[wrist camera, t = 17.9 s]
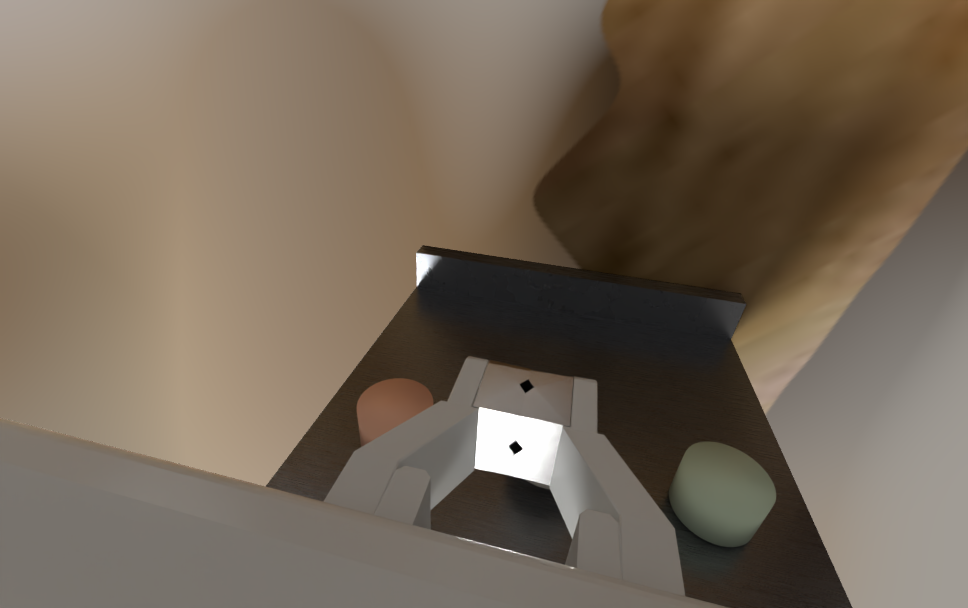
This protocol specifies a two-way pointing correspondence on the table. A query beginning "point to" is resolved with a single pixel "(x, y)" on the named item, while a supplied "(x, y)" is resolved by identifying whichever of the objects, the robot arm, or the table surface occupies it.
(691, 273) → the table surface
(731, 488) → the sage button
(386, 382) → the terracotta button
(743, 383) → the button panel
